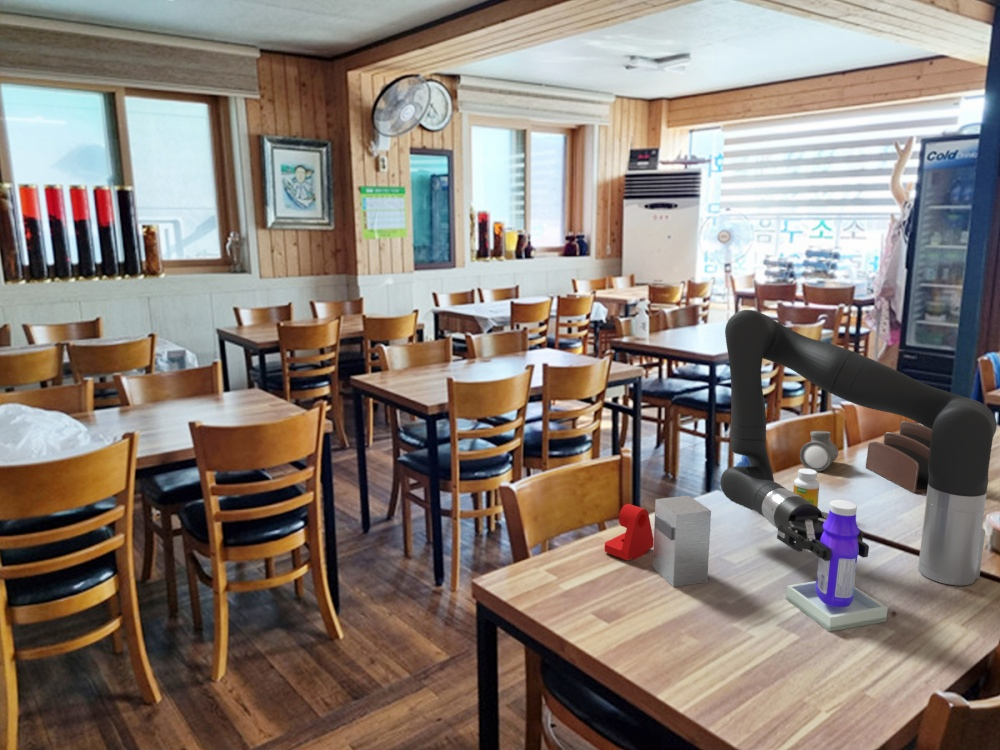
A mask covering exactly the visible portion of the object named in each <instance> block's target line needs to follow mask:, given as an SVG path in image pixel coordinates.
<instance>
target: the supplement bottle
mask: <svg viewBox="0 0 1000 750" xmlns="http://www.w3.org/2000/svg"><path fill="white" fill-rule="evenodd" d="M817 478H818V472H816V471H815V470H812V469H807V468H799V469H798V471H797V478H795V479H794V481H793V491H792V492H794V493H796V494H798V495H799V496H801V497H802V498H804V499H805V500H807V501H808V502H810V503H812V504H813V505H815V506H816V507H817V508H819V507H818V505H819V495H820V493H819V492H820V482H819V481H818V480H817Z"/></svg>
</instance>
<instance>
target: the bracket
mask: <svg viewBox="0 0 1000 750" xmlns="http://www.w3.org/2000/svg"><path fill="white" fill-rule="evenodd" d="M650 520H651V519H650V514H649V511H648V510H647V509H646V508H643V507H640V506H636V505H633V504H630V503H626V504H624V505H623V506H622V507H621V509H620V512H619V515H618V522H619V525H620V526H621V527H623V528H626V531H625V532H623V533H621V534H620V535H617V536H615V537H613V538H611V539H608V540H607V541H605V542H604V550H603V551H604V552H605V553H607V554H609V555H612V556H614V557H617V558H620V559H623V560H625V561H628V562H629V561H630V560H634V561H635V560H637V559H639V558H640V557H642V556H644V555H646V554H648V551H649V550H651V549H652V548H654V533H653V529H652V526H651V525H652V524H651V521H650Z"/></svg>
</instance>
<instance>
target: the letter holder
mask: <svg viewBox="0 0 1000 750" xmlns="http://www.w3.org/2000/svg"><path fill="white" fill-rule="evenodd" d="M899 426H900V427H899V433H896V432H891V431H886V432H885V433H884V438H883V443H881V442H878V441H869V443H868V445H867V453H866V461H865V469H867V470H869V471H871V472H872V471H873V472H872V473H874V472H875V473H874V474H876V475H878V476H880V477H882V478H884V479H886V480H888V481H890V482H892V483H894V484H896V485H898V486H899V487H902V488H904V489H905V490H907V491H909V492H910V493H912V494H914V495H915V494H927V488H928V479H929V472H928V463H929V452H930V442H931V433H932V430H931V429H929V428H928V427H926V426H924V425H922V424H920V423H918V422H913V421H907V420H901V422H900V425H899Z"/></svg>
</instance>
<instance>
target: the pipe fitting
mask: <svg viewBox="0 0 1000 750" xmlns="http://www.w3.org/2000/svg"><path fill="white" fill-rule="evenodd" d="M830 437H831V432H830V431H828V430H827V431H826V430H811V431H810V441H809V442H807V443H805V444H804V445H802V447H801V449H800V452H799V460H800V462H801V464H802V465H803V467H804V469H812V470H815V471H816V472H817V473H818V472H819V473H820V472H822V471H824V470H827V469H828V468H829V467H830V466H831V465H832V463H833V462H834V461H836V460H837V458H838V456H839V449H838V447H837V446H836V445H835V443H833V442H832V439H831V438H830Z"/></svg>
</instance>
